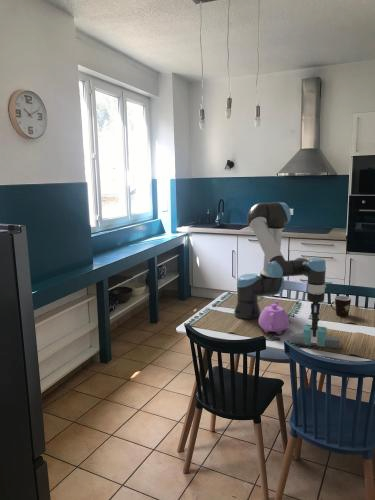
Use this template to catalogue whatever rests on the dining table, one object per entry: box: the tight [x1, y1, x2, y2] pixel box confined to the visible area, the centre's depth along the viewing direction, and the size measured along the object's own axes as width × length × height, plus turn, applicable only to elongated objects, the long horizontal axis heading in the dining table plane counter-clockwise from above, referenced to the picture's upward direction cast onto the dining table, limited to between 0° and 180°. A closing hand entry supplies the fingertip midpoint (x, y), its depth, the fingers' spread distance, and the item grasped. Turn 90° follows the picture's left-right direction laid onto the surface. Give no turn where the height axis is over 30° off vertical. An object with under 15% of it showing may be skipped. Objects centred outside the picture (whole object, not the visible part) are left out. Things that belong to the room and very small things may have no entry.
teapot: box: [258, 298, 290, 335], centre depth 200 cm, size 22×16×14 cm
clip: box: [302, 325, 327, 346], centre depth 180 cm, size 10×6×8 cm, turn 71°
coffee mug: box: [330, 295, 352, 318], centre depth 218 cm, size 12×9×10 cm
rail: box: [289, 332, 341, 350], centre depth 181 cm, size 22×4×4 cm, turn 71°
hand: (314, 338), depth 181 cm, fingers open, 9 cm apart
